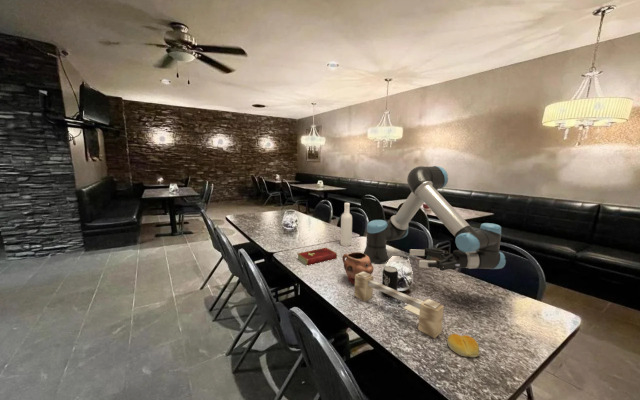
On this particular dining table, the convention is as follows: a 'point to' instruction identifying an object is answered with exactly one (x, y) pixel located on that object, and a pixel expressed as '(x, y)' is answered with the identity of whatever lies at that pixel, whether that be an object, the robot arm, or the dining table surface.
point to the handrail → (428, 309)
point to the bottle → (346, 226)
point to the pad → (413, 308)
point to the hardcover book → (317, 256)
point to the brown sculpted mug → (356, 265)
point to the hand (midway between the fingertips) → (414, 257)
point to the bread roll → (463, 345)
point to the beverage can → (390, 278)
